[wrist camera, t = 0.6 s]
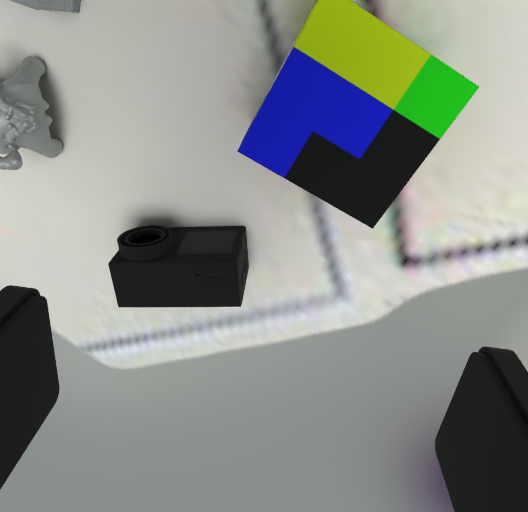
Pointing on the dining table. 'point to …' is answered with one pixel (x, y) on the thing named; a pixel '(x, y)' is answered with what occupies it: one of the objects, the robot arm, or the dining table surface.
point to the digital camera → (180, 267)
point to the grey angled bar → (48, 4)
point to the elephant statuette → (24, 116)
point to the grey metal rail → (76, 6)
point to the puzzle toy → (354, 110)
